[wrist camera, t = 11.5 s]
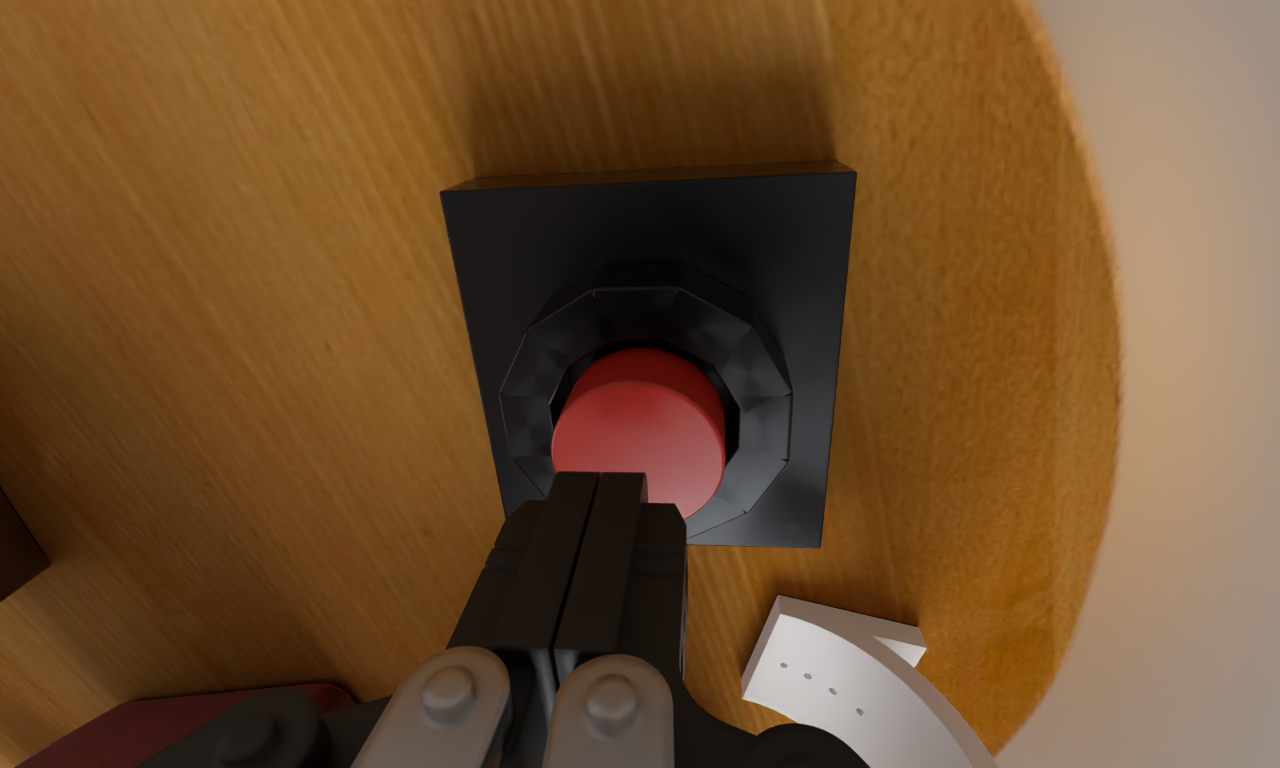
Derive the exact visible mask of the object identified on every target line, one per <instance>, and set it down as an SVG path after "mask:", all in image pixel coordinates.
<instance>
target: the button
mask: <svg viewBox="0 0 1280 768" xmlns="http://www.w3.org/2000/svg"><path fill="white" fill-rule="evenodd" d="M551 454H552V461H553V465H554V469H555V471H556V474H557V472H559V471H582V472H601V473H603V472H645V473H646V476H647V484H648V501H649V503H675V504H676V506H677V508H678V510H679V512H680V514H681V515H682V517H683V519H684V520H685V519H687V518H689V517H691V516H692V515H694V514H695V513H697V512H698V511H699V510H701V509H702V508H703V507H704V506H705V505H706V504H707V503H708V502H709V501H710V499H711V498H712V497H713V496H714V494H715V493H716V491H717V489H718V488H719V486H720V483H721V481H722V479H723V475H724V471H725V462H726V452H725V420H724V410H723V405H722V401H721V399H720V396H719V394H718V392H717V390H716V388H715V387H714V385H713V383H712V382H711V381H710V379H709V378H708V377H707V376H706V375H705V374H704V373H703V372H702V371H701V370H700V369H699V368H698V367H696V366H695V365H694V364H692V363H691V362H689V361H688V360H686V359H684V358H682V357H680V356H678V355H676V354H673V353H671V352H667V351H664V350H659V349H654V348H629V349H624V350H619V351H616V352H613V353H610V354H608V355H606V356H604V357H602V358H600V359H598V360H597V361H595V362H594V363H592V364H591V365H590V366H589V367H588V368H587V369H585V370H584V372H583V373H582V374H581V375H580V376H579V378H578V379H577V381H576V383H575V384H574V386H573V388H572V390H571V393H570V395H569V397H568V399H567V401H566V403H565V406H564V408H563V410H562V412H561V414H560V416H559V418H558V421H557V423H556V426H555V428H554V431H553V435H552V442H551Z"/></svg>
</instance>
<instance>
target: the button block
mask: <svg viewBox="0 0 1280 768" xmlns="http://www.w3.org/2000/svg"><path fill="white" fill-rule="evenodd" d="M856 180H857V172H856V171H854V170H853V169H851V168H849V167H848V166H846V165H845V164H843V163H841V162H840V161H838V160H816V161H796V162H776V163H757V164H737V165H717V166H698V167H678V168H658V169H638V170H619V171H599V172H579V173H559V174H540V175H520V176H500V177H480V178H473V179H471V180H468V181H466V182H463V183H460V184H458V185H455V186H453V187H450V188H448V189H445V190H443V191H441V192H440V198H441V203H442V208H443V213H444V218H445V223H446V228H447V233H448V238H449V242H450V247H451V252H452V257H453V262H454V267H455V272H456V277H457V282H458V287H459V292H460V296H461V301H462V306H463V311H464V316H465V321H466V326H467V331H468V336H469V341H470V346H471V350H472V355H473V360H474V365H475V370H476V375H477V380H478V385H479V390H480V395H481V400H482V405H483V409H484V414H485V419H486V424H487V429H488V434H489V439H490V444H491V449H492V454H493V459H494V463H495V468H496V473H497V478H498V483H499V488H500V493H501V498H502V503H503V508H504V513H505V517H506V519H507V518H508V517H509V516H510V515H511V514H512V513H513V512H514V511H515V510H517V509H518V508H519V507H520V506H521V505H522V504H523V503H524V502H525V501H526V500H546V499H547V496H548V494H549V491H550V488H551V486H552V483H553V481H554V478H555V476H556V471H555V469H554V465H553V461H552V454H551V442H552V435H553V431H554V428H555V426H556V423H557V421H558V418H559V416H560V414H561V412H562V410H563V408H564V406H565V403H566V401H567V399H568V397H569V395H570V393H571V390H572V388H573V386H574V384H575V383H576V381H577V379H578V378H579V376H580V375H581V374H582V373H583V372H584V370H585V369H587V368H588V367H589V366H590V365H591V364H592V363H594V362H595V361H597V360H598V359H600V358H602V357H604V356H606V355H608V354H610V353H613V352H616V351H619V350H624V349H629V348H654V349H659V350H664V351H667V352H671V353H673V354H676V355H678V356H680V357H682V358H684V359H686V360H688V361H689V362H691V363H692V364H694V365H695V366H696V367H698V368H699V369H700V370H701V371H702V372H703V373H704V374H705V375H706V376H707V377H708V378H709V379H710V381H711V382H712V383H713V385H714V387H715V388H716V390H717V392H718V394H719V396H720V399H721V401H722V405H723V410H724V420H725V452H726V462H725V471H724V475H723V479H722V481H721V483H720V486H719V488H718V489H717V491H716V493H715V494H714V496H713V497H712V498H711V499H710V501H709V502H708V503H707V504H706V505H705V506H704V507H703V508H702V509H701V510H699V511H698V512H697V513H695V514H694V515H692V516H691V517H689V518H687V519H685V520H684V521H685V523H686V527H687V545H715V546H749V547H783V548H818V549H819V548H821V541H822V531H823V520H824V510H825V500H826V489H827V479H828V469H829V459H830V448H831V438H832V428H833V417H834V407H835V397H836V386H837V376H838V366H839V355H840V345H841V335H842V324H843V314H844V304H845V293H846V283H847V273H848V262H849V252H850V242H851V231H852V221H853V211H854V200H855V190H856Z"/></svg>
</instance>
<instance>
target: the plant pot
mask: <svg viewBox="0 0 1280 768" xmlns="http://www.w3.org/2000/svg"><path fill="white" fill-rule="evenodd" d="M285 687H289V688H297V689H300V690H303V691H305V692H306V693H308V694H309V695H311V697H312V698H313V699H314V700H315V702H316V704H317V706H318V708H319V710H320V713H321V714H322V713H326V712H330V711H334V710H338V709H343V708H347V707H351V706H355V705H356V704H355V703H354V701H353V700H352V698H351V697H350V695H348V694H347V693H346V692H344V691H343V690H342V689H340V688H338V687H335V686H333V685H329V684H325V683H319V684H305V685H294V686H285ZM285 687H273V688H264V689H254V690H244V691H235V692H225V693H215V694H206V695H194V696H183V697H173V698H163V699H153V700H143V701H132V702H126V703H123V704H120V705H118V706H116V707H115V708H113V709H111V710H109V711H108V712H106V713H104V714H102V715H100V716H99V717H97V718H95V719H93V720H92V721H90V722H88V723H86V724H85V725H83V726H81V727H79V728H78V729H76V730H74V731H72V732H71V733H69V734H68V735H66V736H64V737H63V738H61V739H59V740H58V741H56V742H55V743H53V744H51V745H50V746H48V747H47V748H45V749H43V750H42V751H40V752H38V753H37V754H35V755H34V756H32V757H30V758H29V759H27V760H26V761H24V762H22V763H21V764H19V765H17V766H16V767H14V768H133V767H135V766H136V765H138V764H140V763H141V762H143V761H144V760H146V759H148V758H149V757H151V756H152V755H154V754H156V753H157V752H159V751H160V750H162V749H164V748H165V747H167V746H168V745H170V744H172V743H173V742H175V741H176V740H178V739H180V738H181V737H183V736H184V735H186V734H188V733H189V732H191V731H192V730H194V729H196V728H197V727H199V726H201V725H202V724H204V723H205V722H207V721H209V720H210V719H212V718H213V717H215V716H217V715H218V714H220V713H221V712H223V711H225V710H226V709H228V708H229V707H231V706H233V705H234V704H236V703H238V702H240V701H241V700H243V699H245V698H247V697H250V696H252V695H254V694H256V693H259V692H263V691H266V690H270V689H275V688H285Z"/></svg>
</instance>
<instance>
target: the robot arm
mask: <svg viewBox="0 0 1280 768" xmlns="http://www.w3.org/2000/svg"><path fill="white" fill-rule="evenodd" d="M687 607H688V566H687V527H686V523H685V521H684V519H683V517H682V515H681V514H680V512H679V510H678V508H677V506H676V504H675V503H649V501H648V484H647V476H646V473H645V472H603V473H601V472H582V471H559V472H557V474H556V476H555V478H554V481H553V483H552V486H551V488H550V491H549V494H548V496H547V499H546V500H526V501H525V502H524V503H523V504H522V505H521V506H520V507H519V508H518V509H517V510H515V511H514V512H513V513H512V514H511V515H510V516H509V517H508V518H507V519H506V520H505V522H504V524H503V526H502V528H501V531H500V533H499V535H498V537H497V539H496V541H495V547H494V548H492V550H491V552H490V554H489V557H488V559H487V561H486V563H485V569H483V570H482V572H481V574H480V576H479V578H478V580H477V583H476V585H475V587H474V589H473V591H472V593H471V596H470V598H469V600H468V602H467V604H466V606H465V609H464V611H463V613H462V615H461V617H460V619H459V621H458V624H457V626H456V628H455V630H454V632H453V634H452V637H451V639H450V641H449V643H448V645H447V647H446V649H445V650H444V651H441V652H438V653H436V654H434V655H432V656H431V657H429V658H427V659H426V660H424V661H423V662H421V663H420V664H418V665H417V666H416V667H415V668H414V669H413V670H411V671H410V672H409V674H408V675H407V676H406V677H405V678H404V679H403V681H402V682H401V683H400V685H399V686H398V688H397V689H396V691H395V693H394V694H393V695H390V696H388V697H385V698H382V699H379V700H375V701H371V702H367V703H363V704H359V705H355V706H351V707H347V708H343V709H338V710H334V711H330V712H326V713H322V714H321V713H320V710H319V708H318V706H317V704H316V702H315V700H314V699H313V698H312V697H311V695H309V694H308V693H306V692H305V691H303V690H300V689H297V688H289V687H285V688H275V689H270V690H266V691H263V692H259V693H256V694H254V695H252V696H250V697H247V698H245V699H243V700H241V701H240V702H238V703H236V704H234V705H233V706H231V707H229V708H228V709H226V710H225V711H223V712H221V713H220V714H218V715H217V716H215V717H213V718H212V719H210V720H209V721H207V722H205V723H204V724H202V725H201V726H199V727H197V728H196V729H194V730H192V731H191V732H189V733H188V734H186V735H184V736H183V737H181V738H180V739H178V740H176V741H175V742H173V743H172V744H170V745H168V746H167V747H165V748H164V749H162V750H160V751H159V752H157V753H156V754H154V755H152V756H151V757H149V758H148V759H146V760H144V761H143V762H141V763H140V764H138V765H136V766H135V767H133V768H870V767H869V765H868V764H867V763H866V762H865V761H864V760H863V759H862V758H861V757H860V756H859V755H858V754H857V753H856V752H855V751H854V750H853V749H852V748H851V747H850V746H848V745H847V744H846V743H845V742H844V741H842V740H841V739H839V738H838V737H836V736H835V735H833V734H831V733H829V732H827V731H825V730H823V729H820V728H817V727H814V726H811V725H806V724H796V723H788V724H782V725H777V726H774V727H771V728H769V729H767V730H765V731H763V732H762V733H760V734H759V735H758V736H756V735H753V734H751V733H749V732H746V731H744V730H741V729H739V728H736V727H734V726H732V725H729V724H727V723H725V722H723V721H721V720H718V719H716V718H715V717H713V716H712V715H710V714H709V713H707V712H706V711H705V710H704V709H703V708H701V707H700V706H699V705H698V704H697V703H696V702H695V700H694V699H693V698H692V697H691V695H690V694H689V692H688V690H687V689H686V687H685V685H684V674H685V652H686V630H687Z"/></svg>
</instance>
